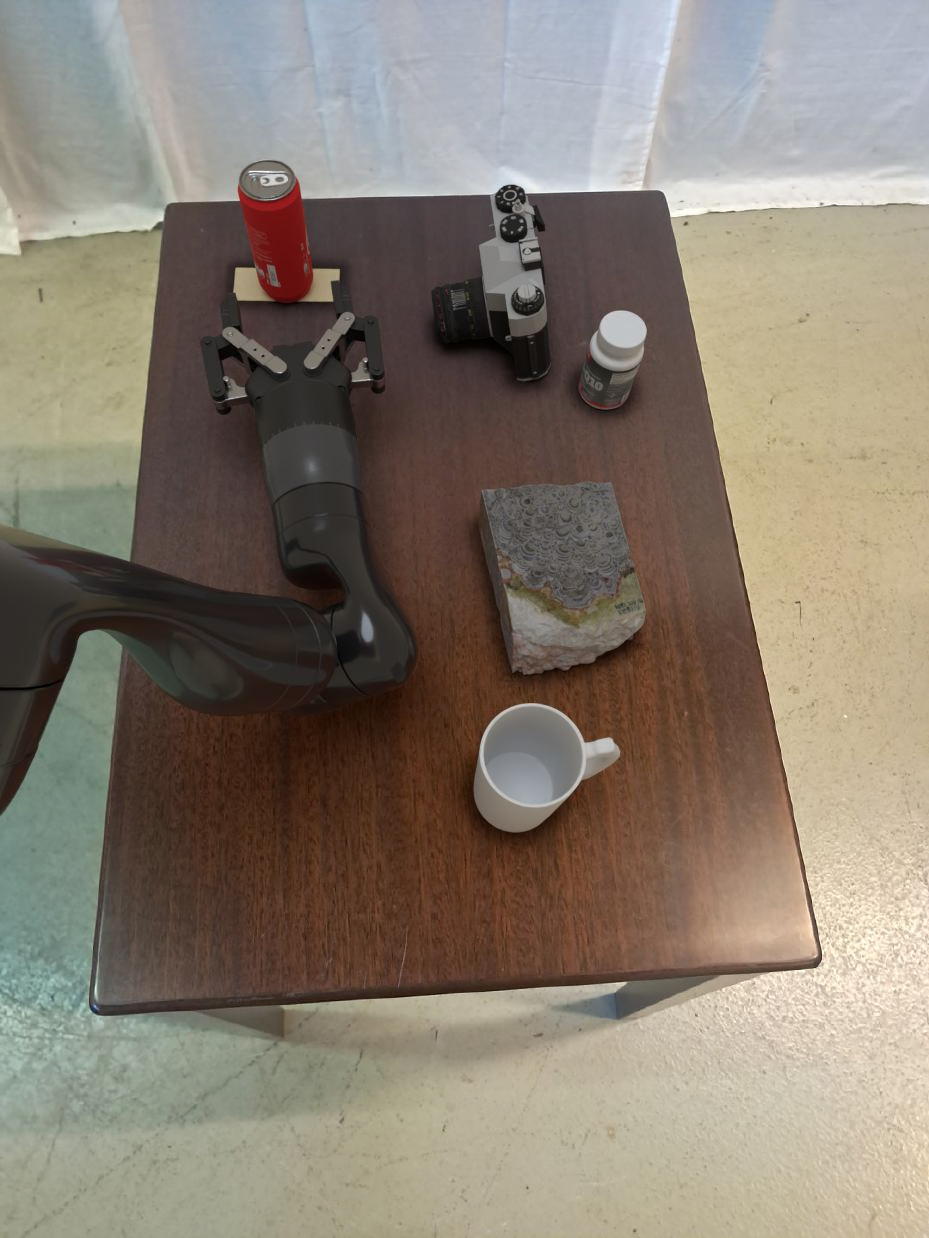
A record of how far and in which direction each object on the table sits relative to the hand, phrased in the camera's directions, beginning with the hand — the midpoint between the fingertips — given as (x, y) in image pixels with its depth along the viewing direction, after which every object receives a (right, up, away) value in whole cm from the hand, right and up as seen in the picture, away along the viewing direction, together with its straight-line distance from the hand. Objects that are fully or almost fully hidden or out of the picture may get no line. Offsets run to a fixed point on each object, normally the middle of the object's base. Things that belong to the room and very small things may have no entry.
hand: (284, 293), depth 73 cm
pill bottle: (+28, -6, +8) cm, 30 cm away
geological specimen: (+23, -24, 0) cm, 33 cm away
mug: (+20, -40, -6) cm, 46 cm away
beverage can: (-2, +5, +11) cm, 12 cm away
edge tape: (-2, +5, +11) cm, 12 cm away
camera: (+17, +1, +10) cm, 20 cm away
